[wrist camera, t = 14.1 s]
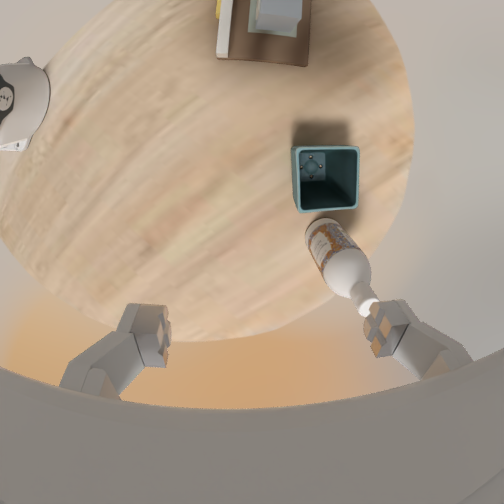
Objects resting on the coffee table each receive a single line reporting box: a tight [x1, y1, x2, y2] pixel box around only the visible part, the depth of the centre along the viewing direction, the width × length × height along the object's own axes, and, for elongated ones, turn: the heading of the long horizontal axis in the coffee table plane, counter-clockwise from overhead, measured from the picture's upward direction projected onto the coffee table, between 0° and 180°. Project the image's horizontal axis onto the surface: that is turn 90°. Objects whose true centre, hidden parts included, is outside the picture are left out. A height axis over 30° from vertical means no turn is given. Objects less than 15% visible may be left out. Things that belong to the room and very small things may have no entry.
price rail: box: [216, 0, 233, 58], centre depth 25 cm, size 2×18×3 cm, turn 176°
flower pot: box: [291, 145, 360, 213], centre depth 37 cm, size 9×9×9 cm
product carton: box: [255, 0, 302, 33], centre depth 24 cm, size 5×8×7 cm
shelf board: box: [217, 0, 311, 67], centre depth 28 cm, size 13×18×2 cm
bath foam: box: [305, 218, 379, 316], centre depth 39 cm, size 7×7×20 cm
